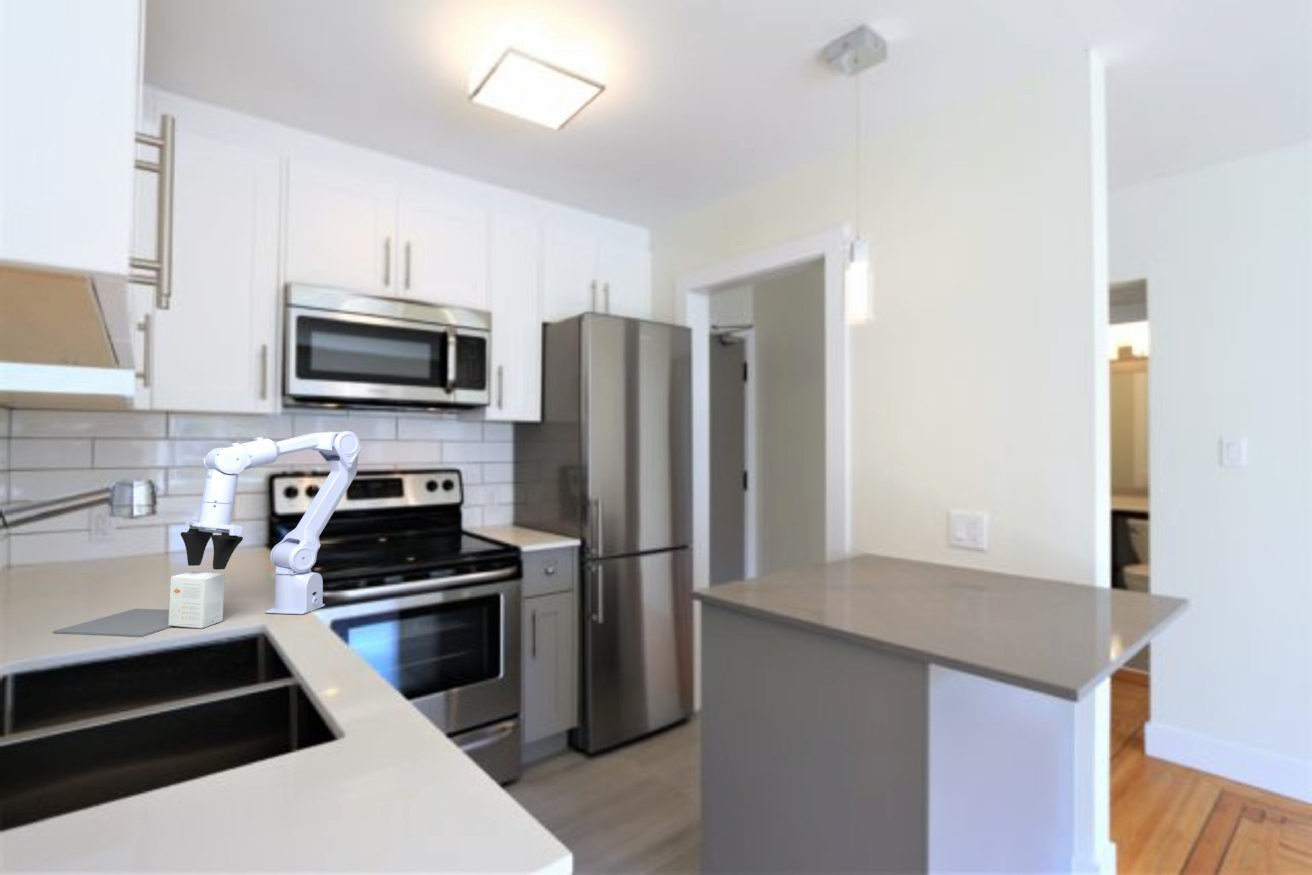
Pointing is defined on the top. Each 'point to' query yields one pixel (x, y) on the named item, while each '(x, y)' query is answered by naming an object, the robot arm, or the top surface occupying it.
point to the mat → (123, 624)
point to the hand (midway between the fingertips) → (206, 567)
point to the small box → (196, 599)
